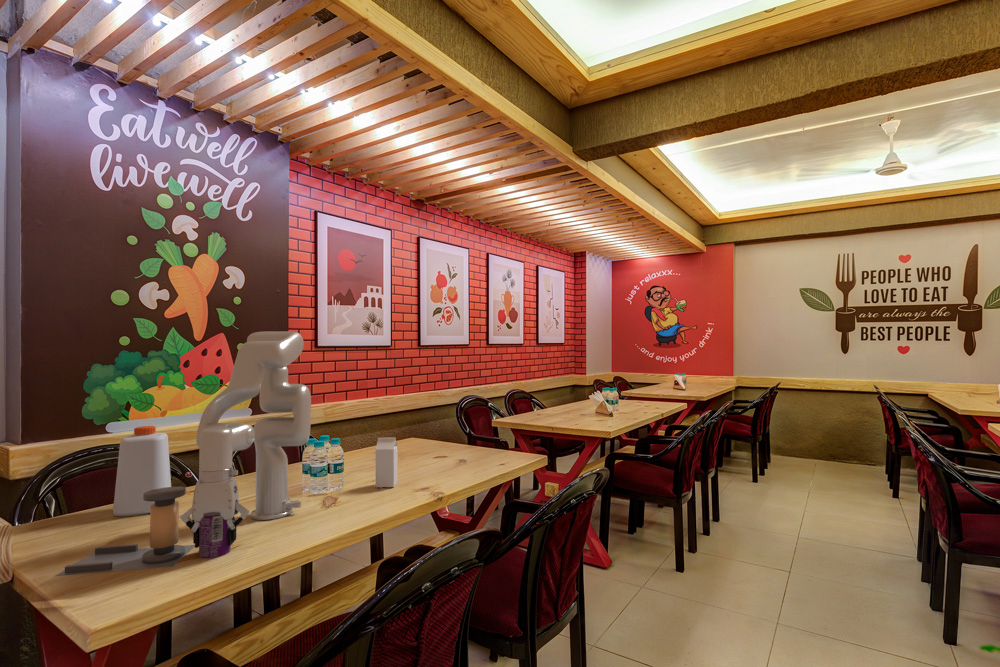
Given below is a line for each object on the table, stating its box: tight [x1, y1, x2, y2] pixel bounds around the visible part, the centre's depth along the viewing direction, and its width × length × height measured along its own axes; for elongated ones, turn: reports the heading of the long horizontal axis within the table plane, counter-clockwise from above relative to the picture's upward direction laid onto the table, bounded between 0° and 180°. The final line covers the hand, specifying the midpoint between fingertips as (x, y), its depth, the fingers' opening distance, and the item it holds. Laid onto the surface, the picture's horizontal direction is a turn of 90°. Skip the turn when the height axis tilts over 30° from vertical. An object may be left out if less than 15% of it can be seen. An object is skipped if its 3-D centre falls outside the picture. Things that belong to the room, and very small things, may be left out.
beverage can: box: [198, 513, 232, 560], centre depth 129 cm, size 7×7×12 cm
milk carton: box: [375, 436, 399, 488], centre depth 197 cm, size 7×7×19 cm
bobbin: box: [142, 486, 187, 564], centre depth 127 cm, size 9×9×16 cm
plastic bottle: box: [112, 425, 172, 517], centre depth 170 cm, size 15×15×28 cm
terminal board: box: [54, 543, 195, 577], centre depth 125 cm, size 25×14×3 cm, turn 100°
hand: (215, 544), depth 128 cm, fingers closed on beverage can, 7 cm apart
